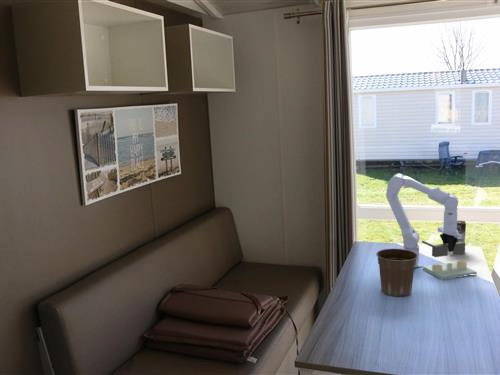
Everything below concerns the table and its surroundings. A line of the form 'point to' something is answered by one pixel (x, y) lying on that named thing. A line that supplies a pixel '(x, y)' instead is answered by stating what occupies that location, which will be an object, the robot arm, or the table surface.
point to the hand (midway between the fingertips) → (448, 250)
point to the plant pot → (396, 271)
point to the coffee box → (461, 229)
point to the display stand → (449, 270)
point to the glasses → (446, 249)
